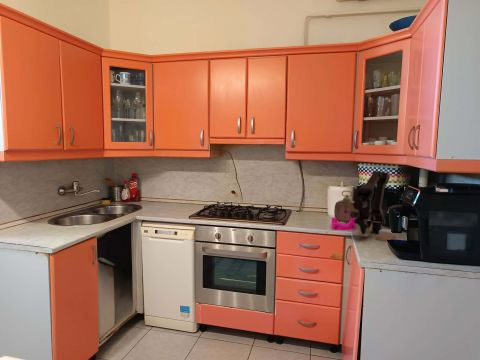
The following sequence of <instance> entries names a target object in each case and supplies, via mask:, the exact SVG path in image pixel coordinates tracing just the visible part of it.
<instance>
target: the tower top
mask: <svg viewBox="0 0 480 360" xmlns="http://www.w3.org/2000/svg"><path fill="white" fill-rule="evenodd" d="M391 230H392V229H387V228H382V229H381V230H380V231H379V236H383V237H389V238H392V237H393V236H394V235H396V234H395V233H396V232H395V233H392V232H391Z"/></svg>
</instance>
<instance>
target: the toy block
mask: <svg viewBox="0 0 480 360" xmlns="http://www.w3.org/2000/svg"><path fill="white" fill-rule="evenodd" d="M354 220H355V218H351V220H350V222H349V223H347V224H346V223H345V224H344V223H341V222H339V221H337V218H336V217H335V216H334V217H333V216H332V217H331V223H330V224H331V230H332V231H351V230H353V231H355V230H356V225H357V224H355V223H354ZM338 222H339V223H338ZM352 225H353V226H352Z"/></svg>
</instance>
